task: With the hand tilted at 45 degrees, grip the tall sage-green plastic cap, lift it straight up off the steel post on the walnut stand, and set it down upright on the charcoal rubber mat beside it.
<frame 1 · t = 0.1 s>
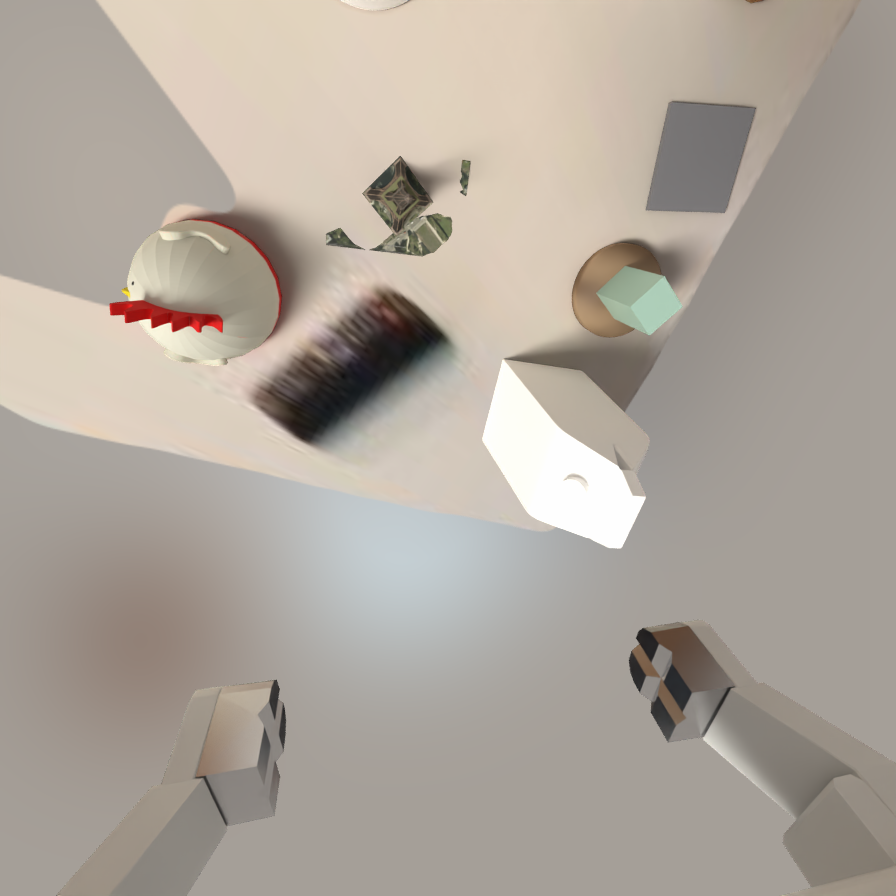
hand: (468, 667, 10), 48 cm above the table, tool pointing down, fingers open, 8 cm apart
charcoal mat: (696, 161, 50), on the table
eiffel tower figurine: (395, 202, 48), on the table
kitchen timer: (215, 290, 49), on the table
milk: (530, 405, 62), on the table
post stand: (613, 290, 56), on the table
green cap: (619, 292, 55), point 1 cm above the table, touching post stand
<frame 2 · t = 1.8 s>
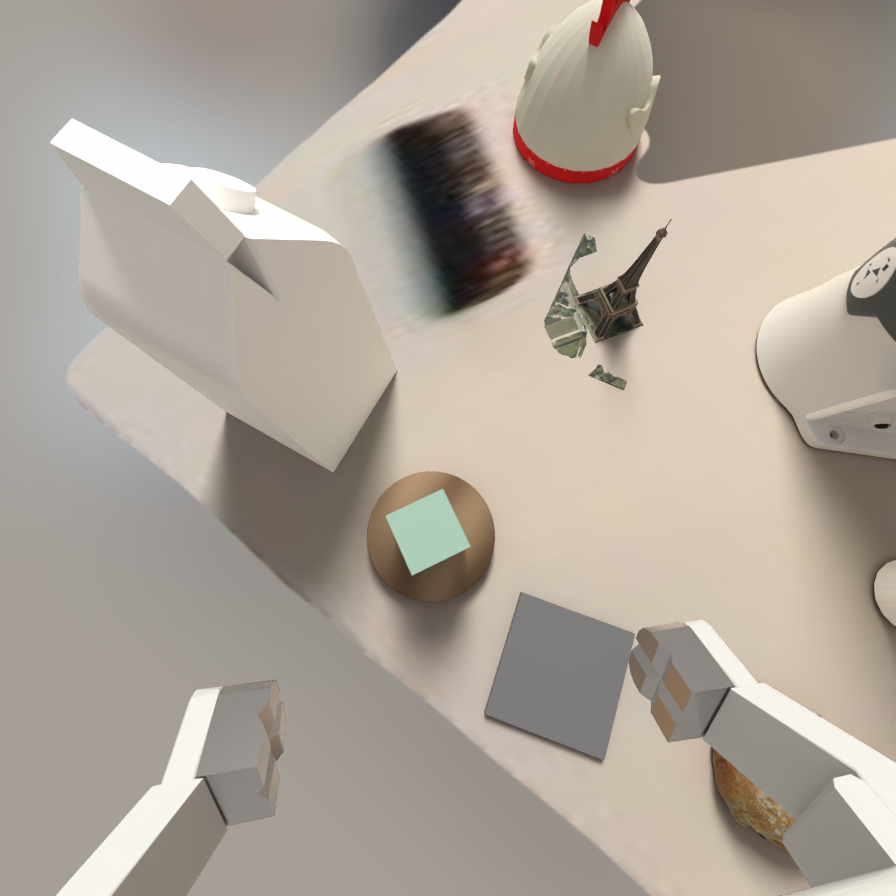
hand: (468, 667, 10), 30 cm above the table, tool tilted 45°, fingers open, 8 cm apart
charcoal mat: (559, 671, 37), on the table
bread roll: (765, 759, 36), on the table
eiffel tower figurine: (601, 311, 46), on the table
kitchen timer: (574, 133, 50), on the table
milk: (313, 391, 43), on the table
post stand: (431, 534, 40), on the table
green cap: (431, 534, 38), point 1 cm above the table, touching post stand
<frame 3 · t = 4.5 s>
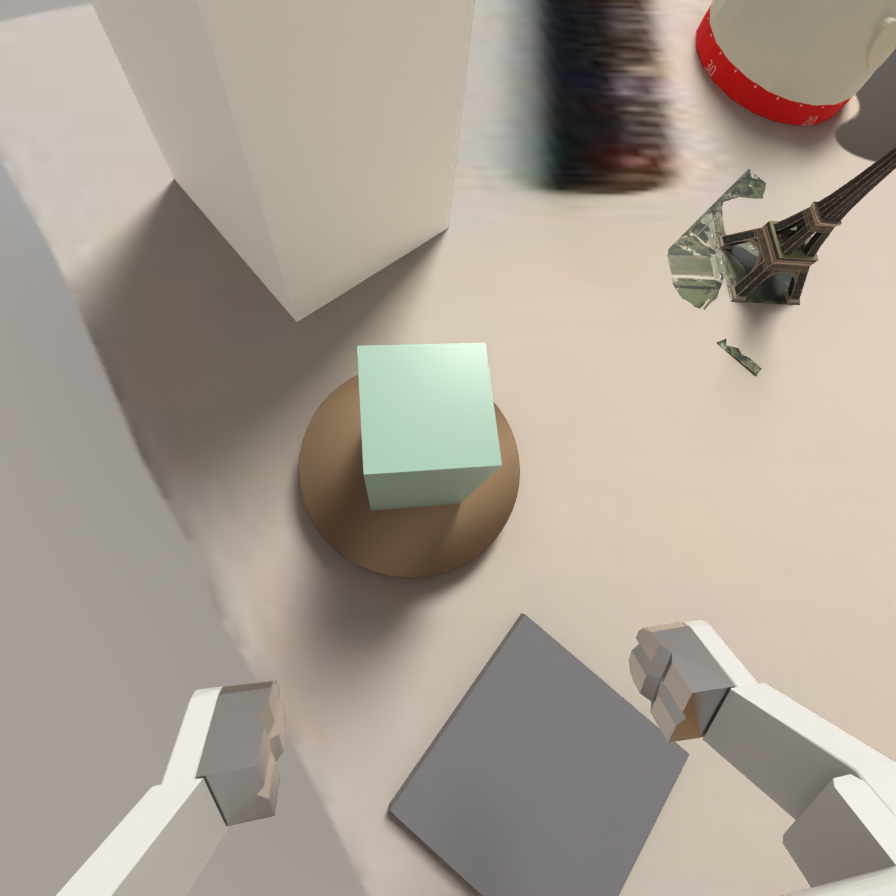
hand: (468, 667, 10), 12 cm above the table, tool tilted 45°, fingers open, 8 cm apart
charcoal mat: (543, 775, 20), on the table
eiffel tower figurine: (744, 271, 32), on the table
kitchen timer: (769, 65, 38), on the table
milk: (316, 206, 28), on the table
post stand: (411, 469, 24), on the table
green cap: (413, 463, 22), point 1 cm above the table, touching post stand
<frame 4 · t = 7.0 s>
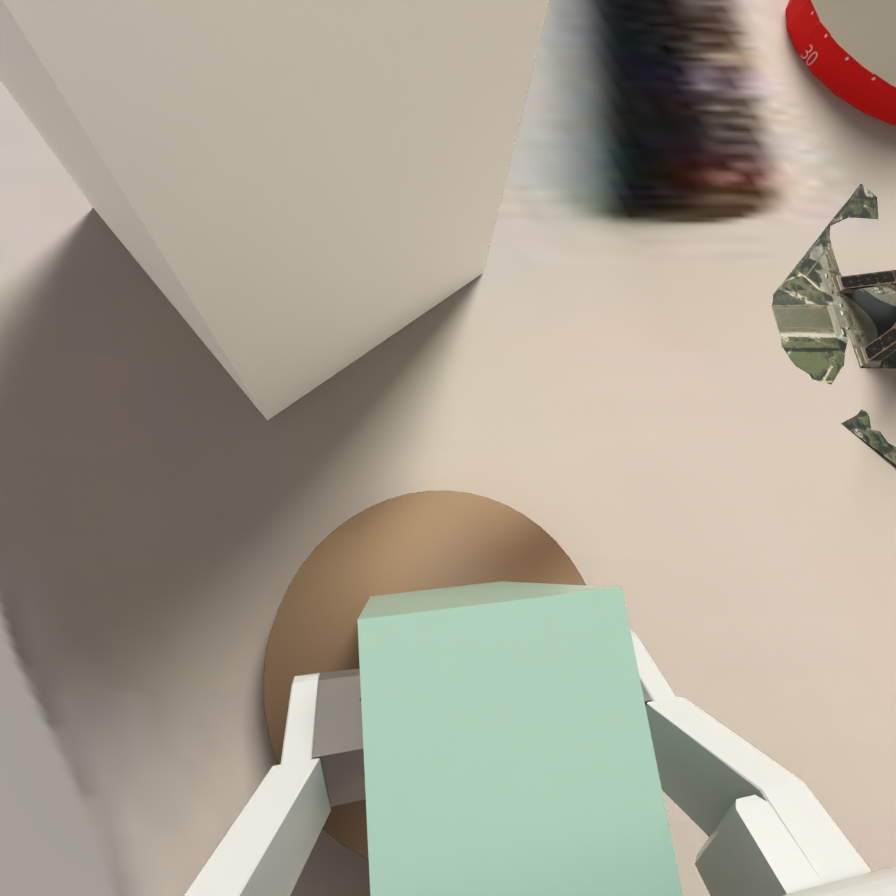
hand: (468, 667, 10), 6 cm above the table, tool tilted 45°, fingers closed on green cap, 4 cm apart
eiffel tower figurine: (866, 321, 24), on the table
kitchen timer: (875, 53, 30), on the table
milk: (298, 245, 20), on the table
post stand: (438, 652, 16), on the table
green cap: (444, 660, 14), point 2 cm above the table, touching gripper, post stand
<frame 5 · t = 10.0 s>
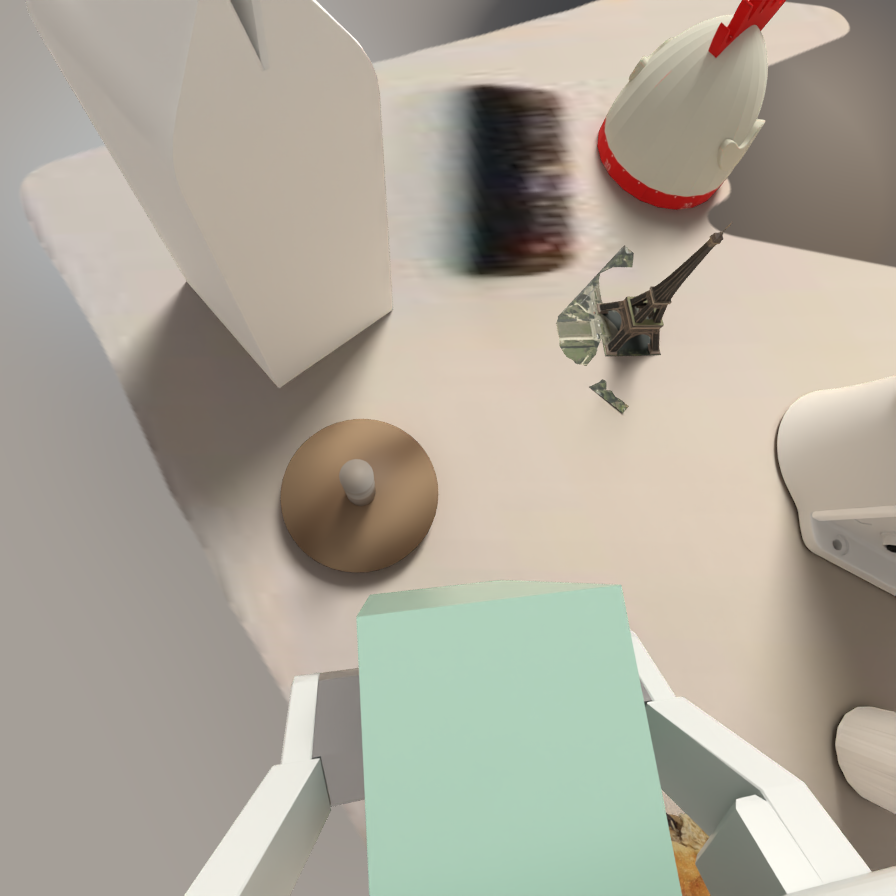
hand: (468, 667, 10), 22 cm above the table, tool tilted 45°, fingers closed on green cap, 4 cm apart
bread roll: (661, 890, 29), on the table
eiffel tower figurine: (620, 328, 41), on the table
cup: (865, 750, 33), on the table
kitchen timer: (658, 157, 47), on the table
milk: (292, 297, 37), on the table
post stand: (362, 495, 33), on the table
green cap: (443, 658, 14), point 18 cm above the table, touching gripper
when the fingers open (6 cm above the table, at t = 13.0 s): green cap drops 1 cm, resting on charcoal mat.
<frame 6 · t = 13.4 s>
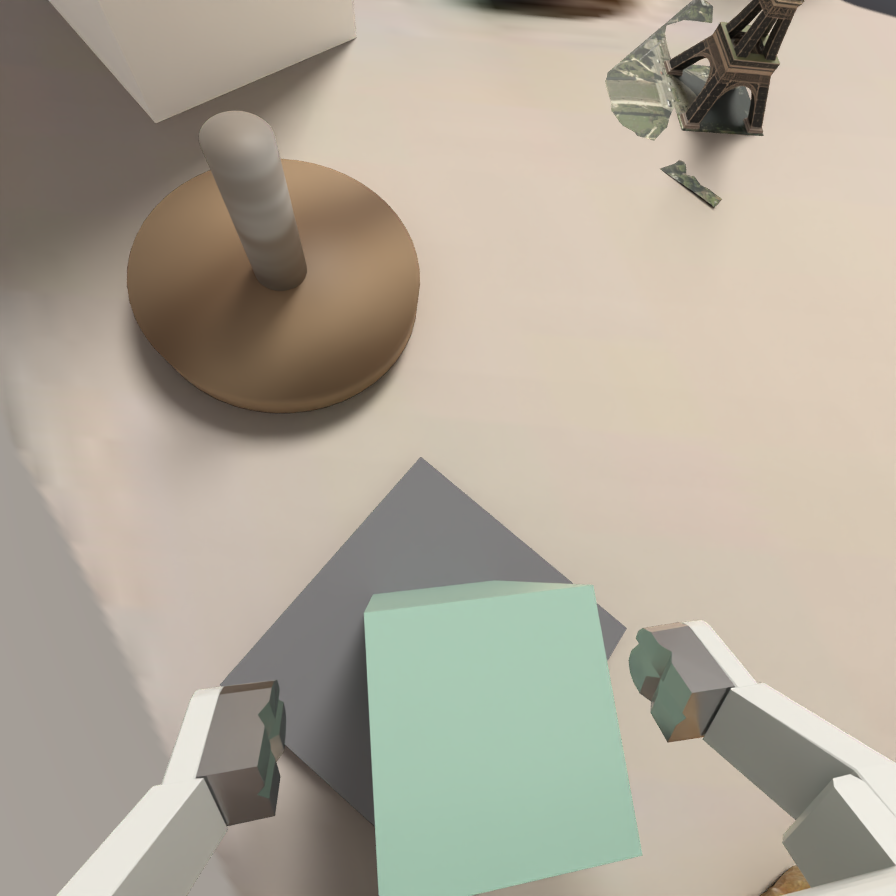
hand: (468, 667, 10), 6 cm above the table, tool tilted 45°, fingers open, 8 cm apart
charcoal mat: (436, 651, 16), on the table
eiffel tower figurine: (698, 104, 27), on the table
milk: (194, 6, 23), on the table
post stand: (288, 292, 19), on the table
green cap: (441, 653, 15), point 1 cm above the table, touching charcoal mat
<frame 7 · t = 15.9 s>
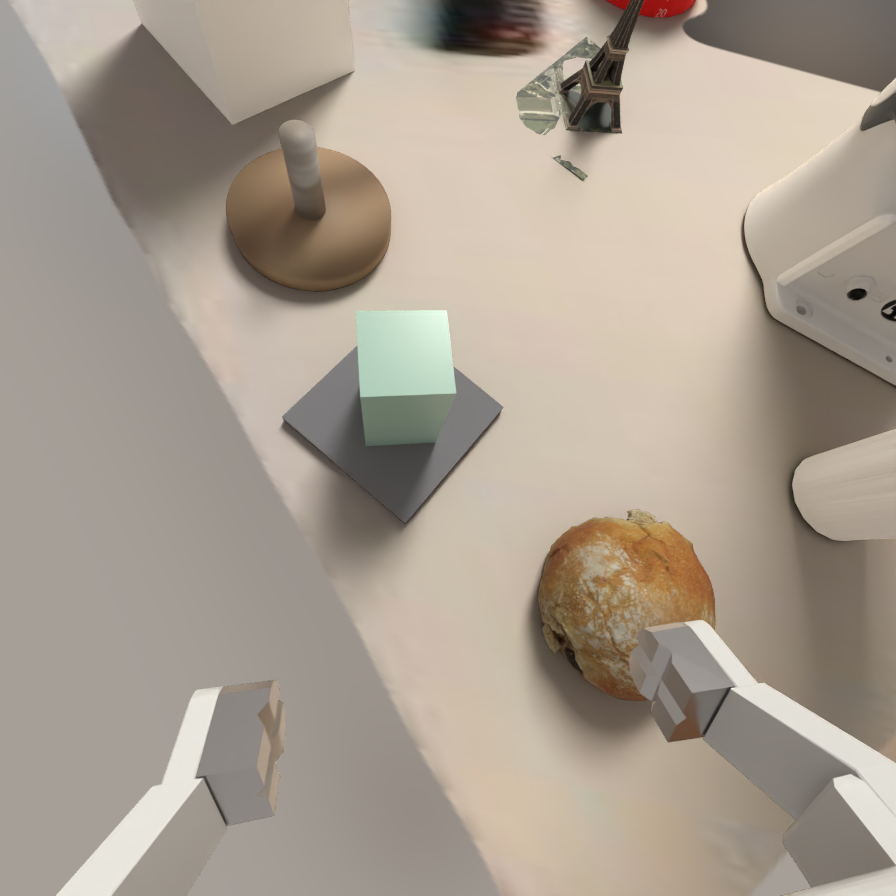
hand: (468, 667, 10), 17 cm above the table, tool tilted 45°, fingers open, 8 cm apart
charcoal mat: (397, 415, 29), on the table
bread roll: (608, 594, 28), on the table
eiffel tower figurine: (582, 112, 40), on the table
cup: (823, 498, 32), on the table
milk: (252, 50, 36), on the table
post stand: (314, 224, 32), on the table
green cap: (398, 411, 28), point 1 cm above the table, touching charcoal mat
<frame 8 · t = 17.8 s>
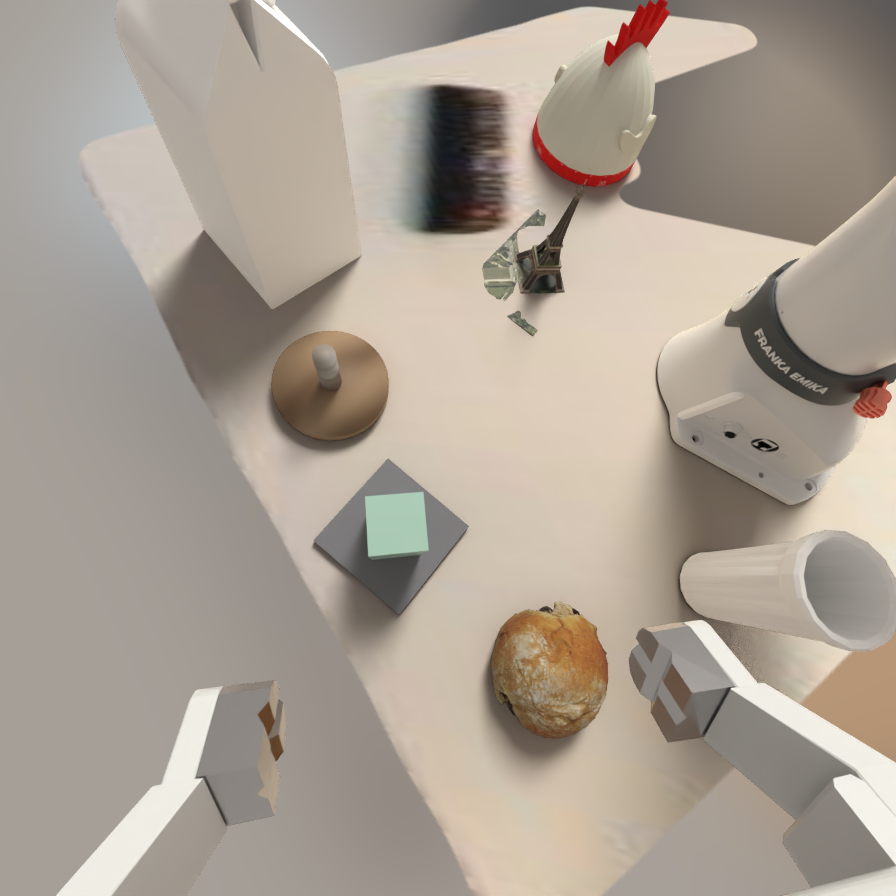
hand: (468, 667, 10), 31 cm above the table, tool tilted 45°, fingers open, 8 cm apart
charcoal mat: (393, 533, 41), on the table
bread roll: (542, 660, 40), on the table
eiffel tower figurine: (534, 273, 52), on the table
cup: (705, 584, 44), on the table
kitchen timer: (583, 145, 58), on the table
milk: (284, 244, 48), on the table
post stand: (332, 387, 44), on the table
green cap: (394, 532, 41), point 1 cm above the table, touching charcoal mat
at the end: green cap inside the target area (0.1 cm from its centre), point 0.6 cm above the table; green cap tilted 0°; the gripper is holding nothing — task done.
